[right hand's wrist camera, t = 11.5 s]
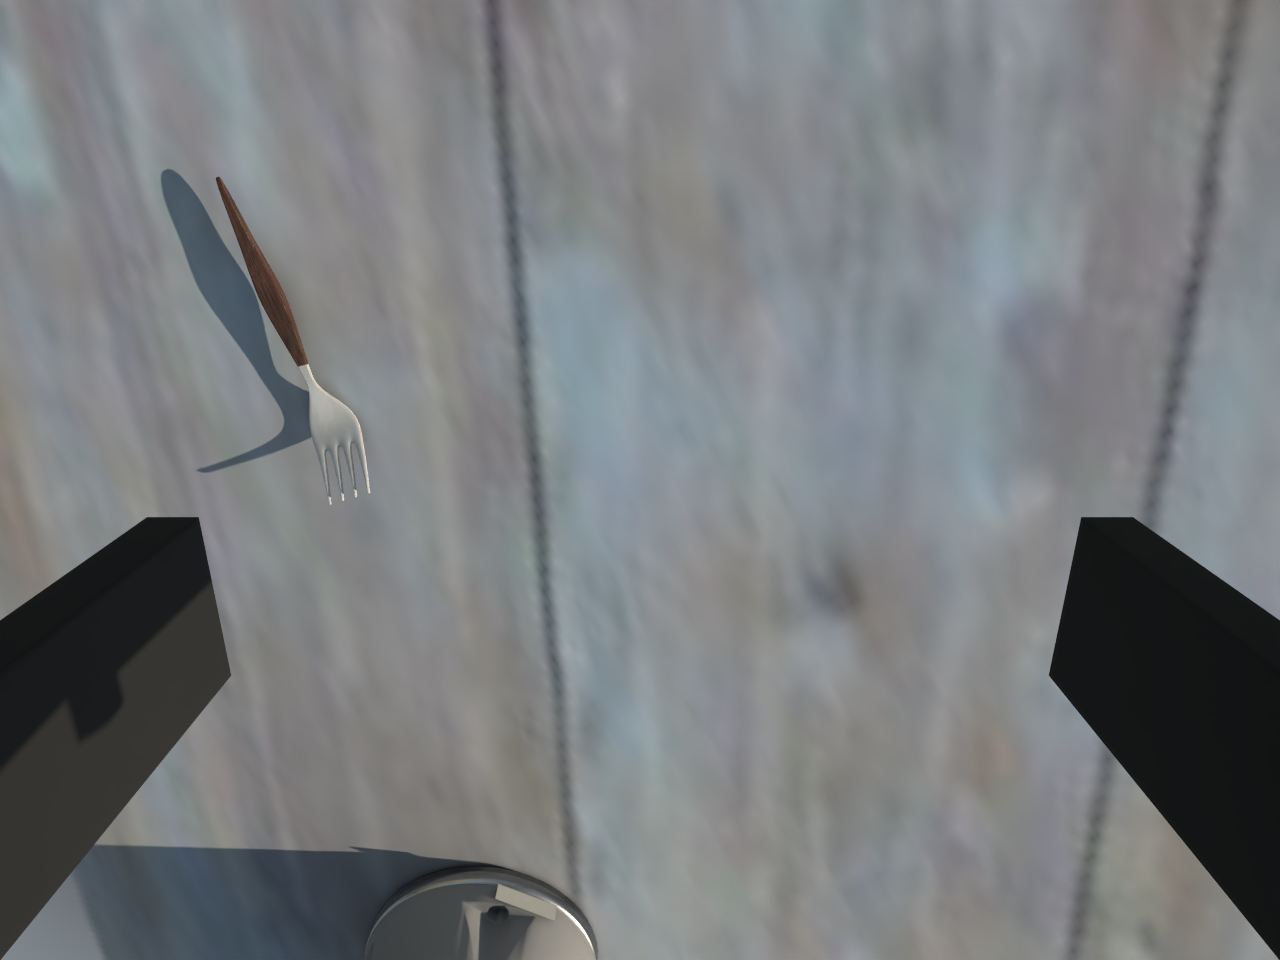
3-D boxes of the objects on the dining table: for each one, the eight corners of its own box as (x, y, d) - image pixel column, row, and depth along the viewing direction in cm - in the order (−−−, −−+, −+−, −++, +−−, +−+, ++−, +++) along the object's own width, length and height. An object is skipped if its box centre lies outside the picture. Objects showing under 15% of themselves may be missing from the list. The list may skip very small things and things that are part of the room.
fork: (249, 168, 38) (228, 168, 36) (384, 478, 43) (373, 492, 41) (197, 185, 38) (174, 186, 36) (339, 492, 43) (325, 506, 42)
